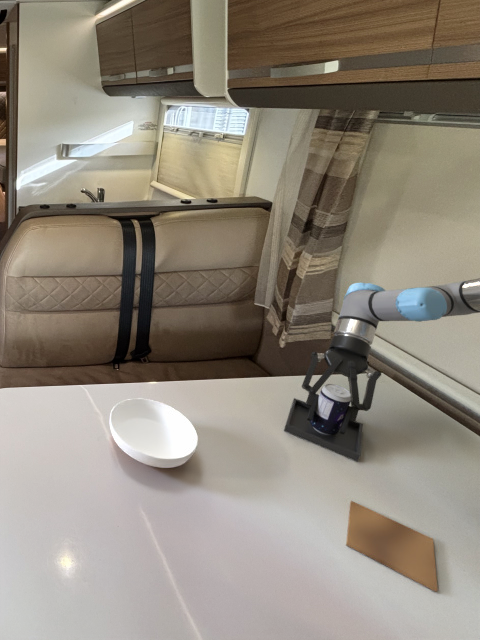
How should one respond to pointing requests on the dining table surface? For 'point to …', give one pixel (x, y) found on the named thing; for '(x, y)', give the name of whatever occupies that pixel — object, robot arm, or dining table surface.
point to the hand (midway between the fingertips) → (325, 426)
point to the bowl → (153, 432)
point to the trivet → (392, 545)
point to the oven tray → (337, 443)
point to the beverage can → (330, 409)
